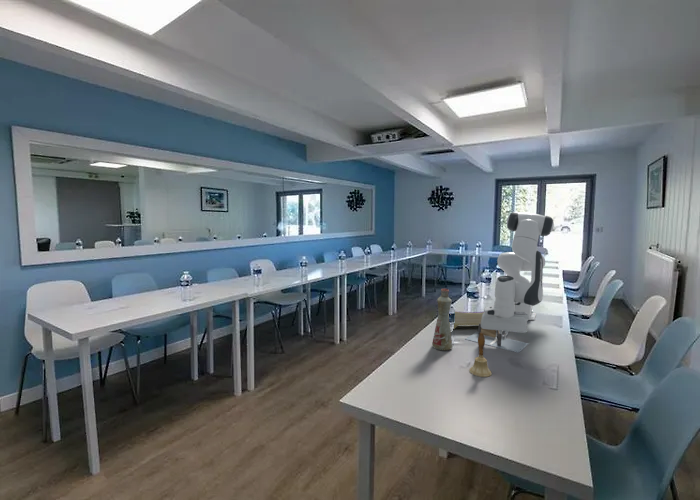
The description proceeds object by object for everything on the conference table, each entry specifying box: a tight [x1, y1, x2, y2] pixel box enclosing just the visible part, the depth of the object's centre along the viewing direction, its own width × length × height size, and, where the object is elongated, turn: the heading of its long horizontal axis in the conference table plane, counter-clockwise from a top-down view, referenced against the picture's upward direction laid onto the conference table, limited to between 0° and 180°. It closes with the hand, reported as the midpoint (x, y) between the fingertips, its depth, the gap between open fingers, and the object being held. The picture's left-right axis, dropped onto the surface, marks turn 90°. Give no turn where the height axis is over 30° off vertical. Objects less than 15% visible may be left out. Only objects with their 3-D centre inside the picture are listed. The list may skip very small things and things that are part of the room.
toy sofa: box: [454, 310, 484, 330], centre depth 195 cm, size 21×9×10 cm, turn 94°
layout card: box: [465, 331, 530, 354], centre depth 174 cm, size 15×25×1 cm, turn 48°
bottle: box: [431, 288, 453, 352], centre depth 164 cm, size 9×9×28 cm
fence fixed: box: [477, 323, 498, 339], centre depth 181 cm, size 2×11×6 cm, turn 49°
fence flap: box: [497, 330, 503, 346], centre depth 172 cm, size 9×2×5 cm, turn 159°
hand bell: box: [468, 332, 492, 378], centre depth 140 cm, size 8×8×16 cm
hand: (503, 339), depth 170 cm, fingers closed
